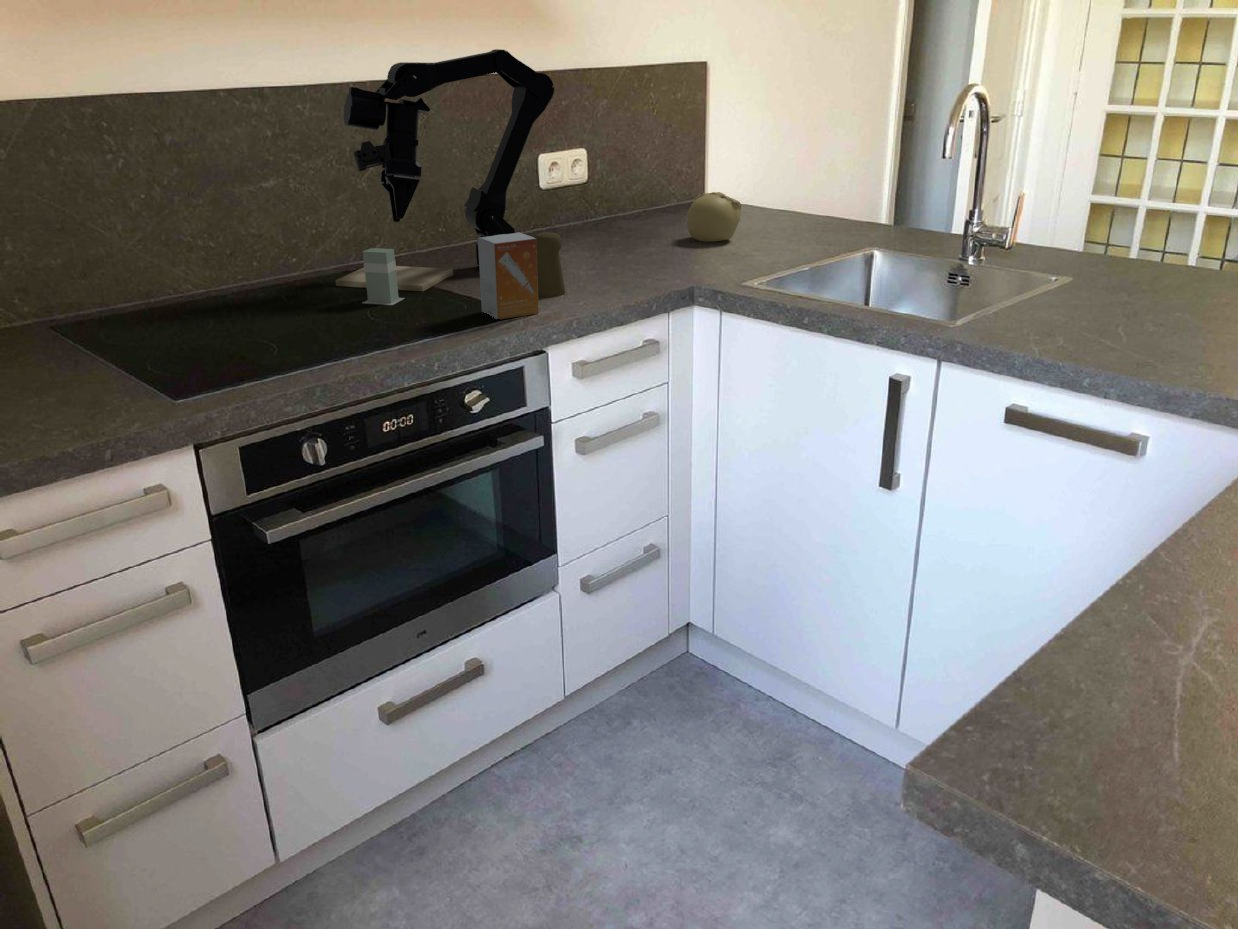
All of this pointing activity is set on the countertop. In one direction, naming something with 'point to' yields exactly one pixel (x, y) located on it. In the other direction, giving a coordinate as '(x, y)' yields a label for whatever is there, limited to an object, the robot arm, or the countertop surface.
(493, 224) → the robot arm
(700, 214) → the green persimmon
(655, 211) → the countertop surface
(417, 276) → the oak board
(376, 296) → the carton
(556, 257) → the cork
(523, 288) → the small box
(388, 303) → the white flat rectangular tile
